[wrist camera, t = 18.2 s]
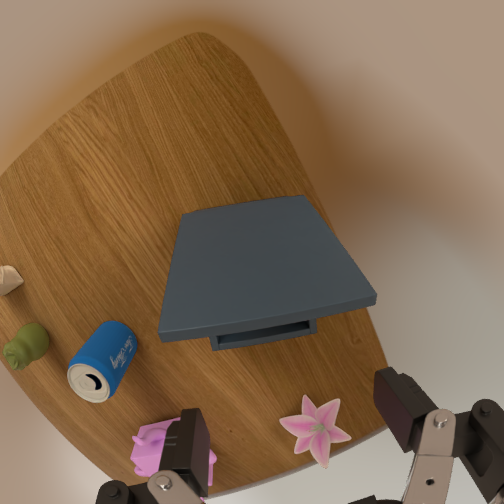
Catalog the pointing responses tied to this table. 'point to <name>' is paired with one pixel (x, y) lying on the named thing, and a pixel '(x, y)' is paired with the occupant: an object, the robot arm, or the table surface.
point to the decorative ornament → (9, 279)
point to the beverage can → (102, 362)
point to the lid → (257, 271)
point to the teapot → (156, 449)
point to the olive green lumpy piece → (26, 346)
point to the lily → (316, 429)
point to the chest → (265, 333)
